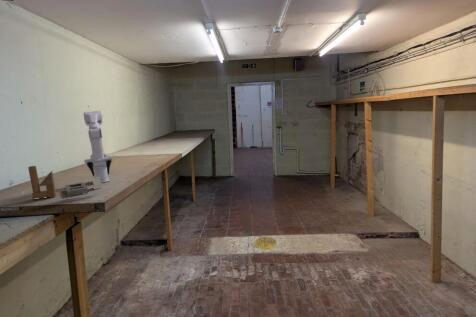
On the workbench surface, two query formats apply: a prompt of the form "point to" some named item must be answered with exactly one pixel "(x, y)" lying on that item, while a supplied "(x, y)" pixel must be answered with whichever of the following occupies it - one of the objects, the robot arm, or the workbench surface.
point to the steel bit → (96, 182)
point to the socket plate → (76, 189)
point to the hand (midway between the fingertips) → (101, 174)
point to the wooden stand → (46, 182)
